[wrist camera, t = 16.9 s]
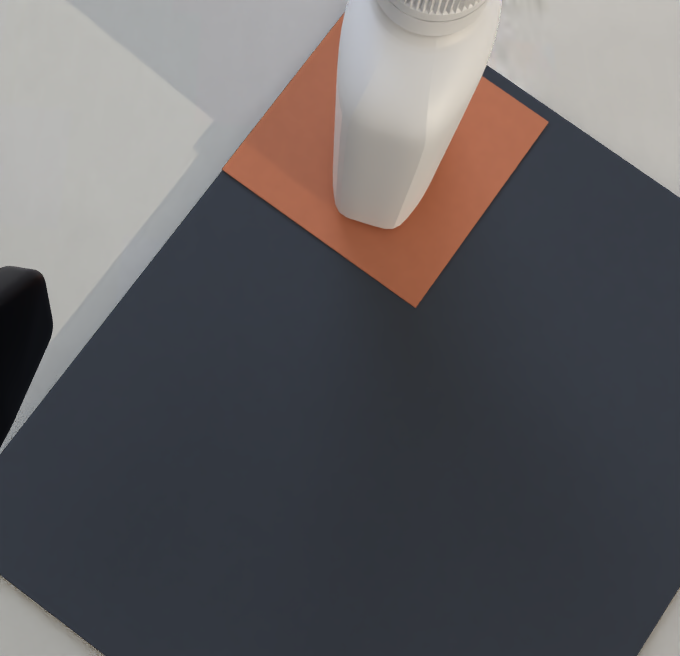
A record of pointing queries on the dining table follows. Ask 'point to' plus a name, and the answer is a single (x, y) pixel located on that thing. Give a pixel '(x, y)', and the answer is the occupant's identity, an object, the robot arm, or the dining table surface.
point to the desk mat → (374, 410)
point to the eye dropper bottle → (403, 98)
